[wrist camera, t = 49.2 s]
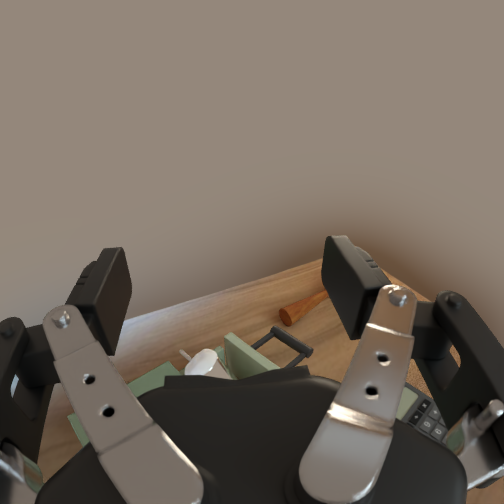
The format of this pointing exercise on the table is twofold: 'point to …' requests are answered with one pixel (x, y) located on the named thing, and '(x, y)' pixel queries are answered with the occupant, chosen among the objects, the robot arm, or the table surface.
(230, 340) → the drawer
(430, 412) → the calculator
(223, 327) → the table surface
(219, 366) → the milkshake
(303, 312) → the kendama
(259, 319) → the table surface
